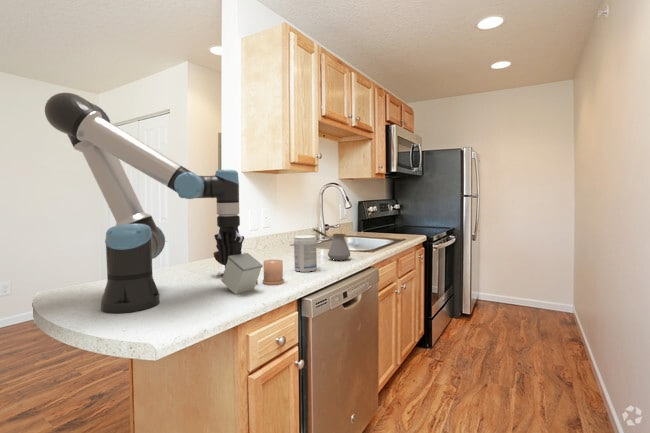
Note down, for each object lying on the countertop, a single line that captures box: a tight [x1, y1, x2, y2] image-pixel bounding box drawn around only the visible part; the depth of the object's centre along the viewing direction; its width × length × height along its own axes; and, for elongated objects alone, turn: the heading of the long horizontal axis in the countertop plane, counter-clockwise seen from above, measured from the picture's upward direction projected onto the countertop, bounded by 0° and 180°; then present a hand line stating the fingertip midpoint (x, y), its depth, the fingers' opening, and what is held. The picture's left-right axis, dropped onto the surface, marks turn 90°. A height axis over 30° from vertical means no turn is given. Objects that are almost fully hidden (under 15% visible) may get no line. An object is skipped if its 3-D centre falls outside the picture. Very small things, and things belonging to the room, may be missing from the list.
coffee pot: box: [312, 228, 351, 261], centre depth 181 cm, size 21×12×15 cm, turn 61°
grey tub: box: [221, 252, 264, 295], centre depth 120 cm, size 8×8×10 cm
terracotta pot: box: [262, 259, 285, 286], centre depth 132 cm, size 8×8×8 cm
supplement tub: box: [293, 234, 318, 273], centre depth 153 cm, size 10×10×15 cm
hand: (230, 282), depth 124 cm, fingers closed
